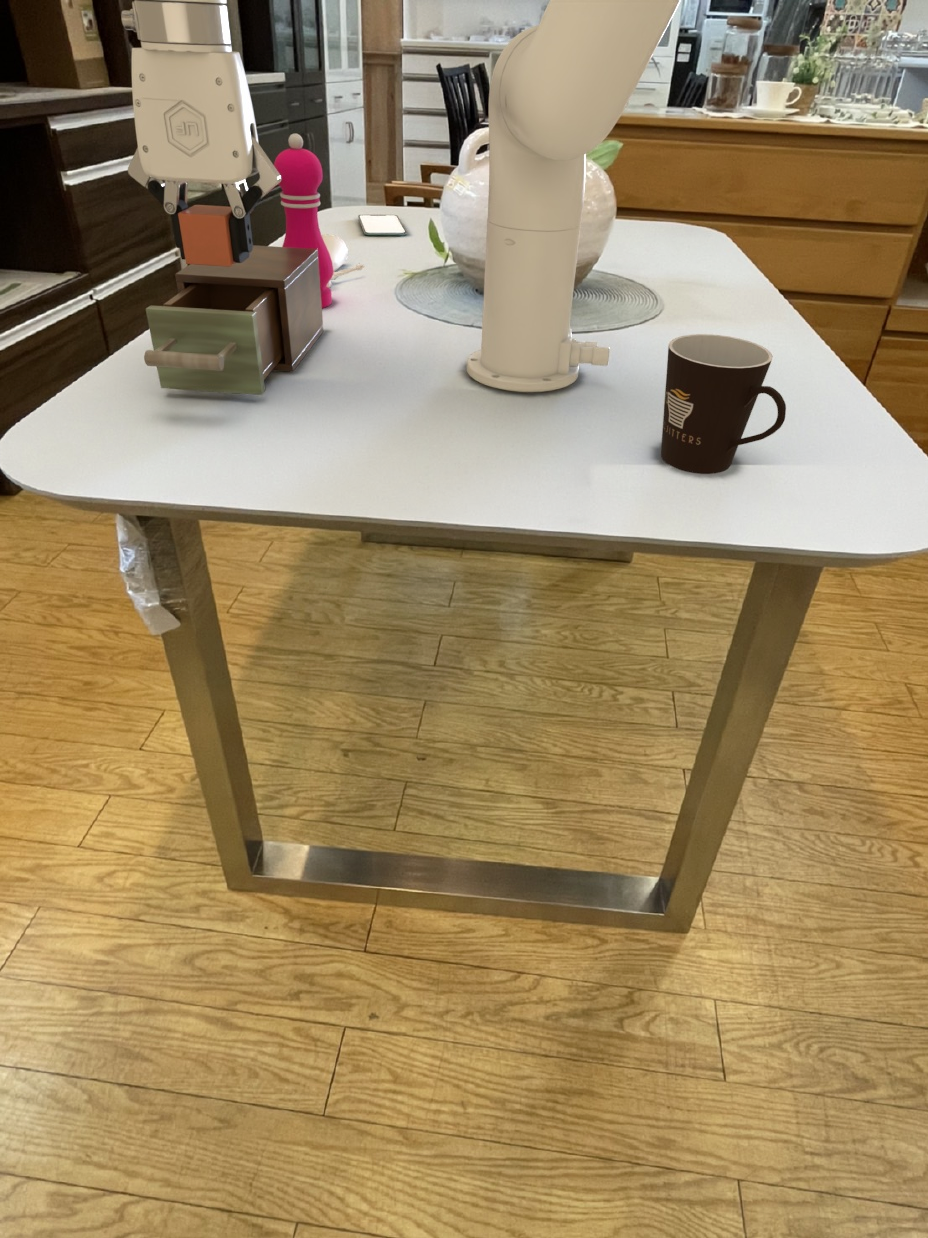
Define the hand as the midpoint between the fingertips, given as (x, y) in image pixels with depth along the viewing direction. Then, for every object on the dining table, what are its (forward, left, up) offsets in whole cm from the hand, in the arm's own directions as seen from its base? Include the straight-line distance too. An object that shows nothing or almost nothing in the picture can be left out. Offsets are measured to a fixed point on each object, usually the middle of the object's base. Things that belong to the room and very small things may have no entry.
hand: (215, 256), depth 79 cm
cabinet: (0, -10, -12) cm, 16 cm away
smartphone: (-2, -81, -12) cm, 82 cm away
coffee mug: (-48, +14, -12) cm, 52 cm away
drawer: (0, +3, -11) cm, 12 cm away
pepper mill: (-1, -29, -12) cm, 32 cm away
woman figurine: (0, -44, -12) cm, 46 cm away
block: (0, 0, 0) cm, 0 cm away
